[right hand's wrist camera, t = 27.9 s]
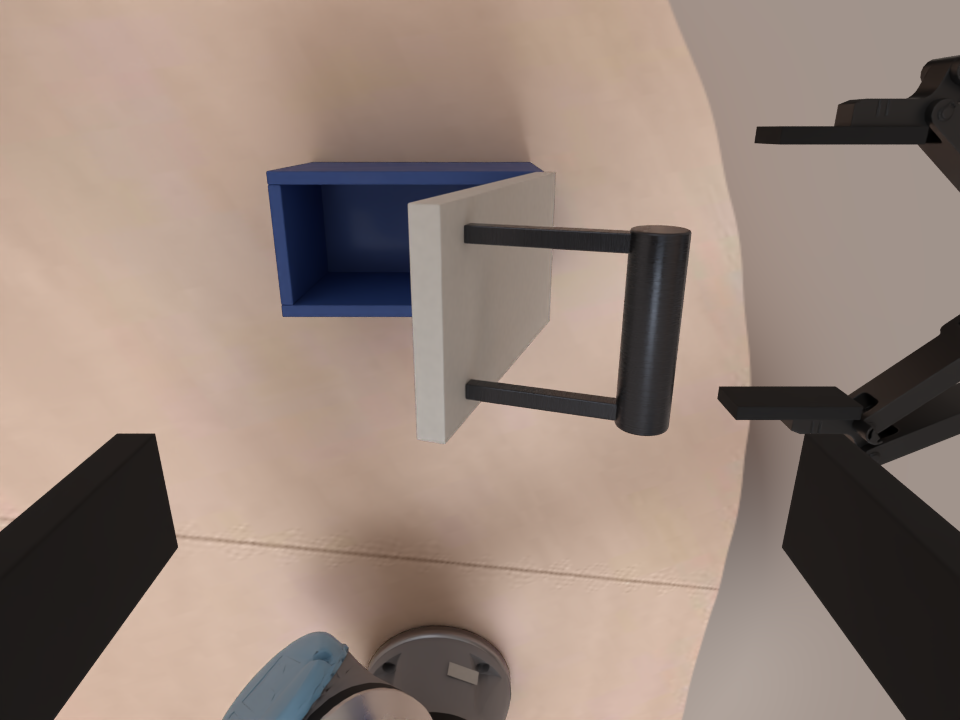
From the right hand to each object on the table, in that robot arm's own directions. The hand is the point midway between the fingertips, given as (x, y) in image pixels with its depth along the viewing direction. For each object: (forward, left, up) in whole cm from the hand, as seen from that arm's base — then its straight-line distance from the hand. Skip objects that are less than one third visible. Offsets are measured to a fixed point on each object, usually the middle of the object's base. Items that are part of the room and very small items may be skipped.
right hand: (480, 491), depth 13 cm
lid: (0, 0, -19) cm, 19 cm away
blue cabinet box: (0, -4, -39) cm, 39 cm away
